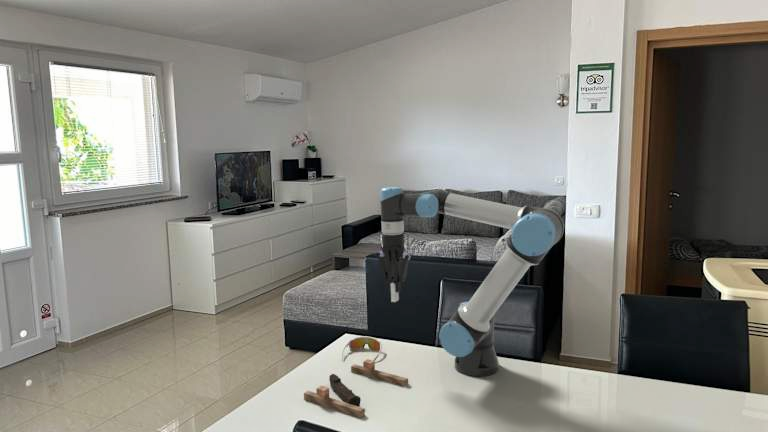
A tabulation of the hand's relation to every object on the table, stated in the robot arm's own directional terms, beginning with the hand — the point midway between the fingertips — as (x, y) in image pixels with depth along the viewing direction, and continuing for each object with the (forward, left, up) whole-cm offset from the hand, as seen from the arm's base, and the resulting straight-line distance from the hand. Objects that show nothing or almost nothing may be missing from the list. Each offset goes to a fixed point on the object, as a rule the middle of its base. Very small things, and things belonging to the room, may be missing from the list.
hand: (395, 300), depth 196 cm
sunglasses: (+17, -3, -25) cm, 31 cm away
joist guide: (+1, +22, -24) cm, 33 cm away
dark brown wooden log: (+3, +27, -25) cm, 37 cm away
